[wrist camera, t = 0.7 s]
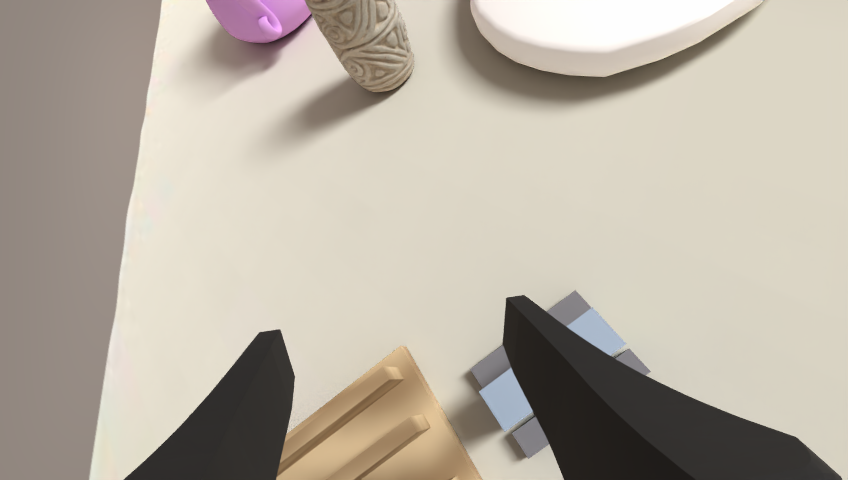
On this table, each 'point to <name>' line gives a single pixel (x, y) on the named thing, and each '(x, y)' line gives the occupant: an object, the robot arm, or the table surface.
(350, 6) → the carving
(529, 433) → the drying stand
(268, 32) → the teapot
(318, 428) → the dish rack
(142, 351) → the table surface
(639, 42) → the plate
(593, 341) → the light blue slab
